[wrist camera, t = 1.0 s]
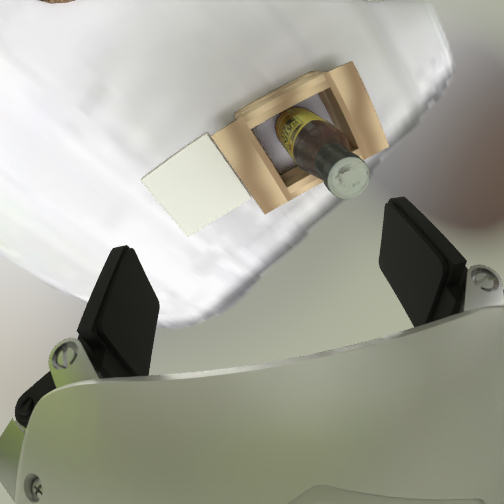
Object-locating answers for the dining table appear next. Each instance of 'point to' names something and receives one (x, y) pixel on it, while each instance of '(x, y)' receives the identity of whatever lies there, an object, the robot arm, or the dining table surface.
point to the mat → (196, 185)
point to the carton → (324, 83)
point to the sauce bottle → (322, 152)
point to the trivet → (56, 1)
